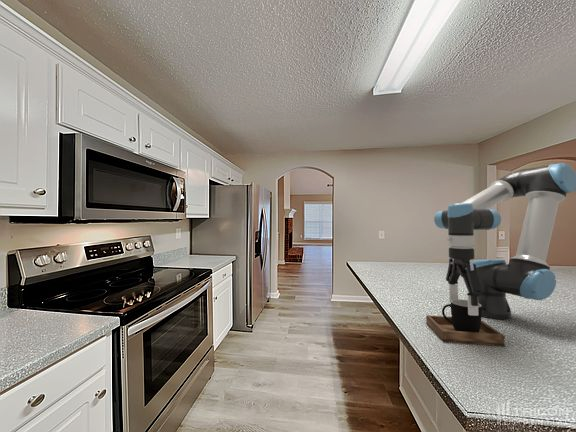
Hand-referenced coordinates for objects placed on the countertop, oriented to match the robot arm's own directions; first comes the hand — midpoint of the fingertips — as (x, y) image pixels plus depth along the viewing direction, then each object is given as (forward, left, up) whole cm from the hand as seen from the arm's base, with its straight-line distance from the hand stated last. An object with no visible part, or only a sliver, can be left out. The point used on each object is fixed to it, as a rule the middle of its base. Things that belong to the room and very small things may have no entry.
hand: (462, 308), depth 92 cm
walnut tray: (0, 0, -9) cm, 9 cm away
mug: (+1, 0, -8) cm, 8 cm away
